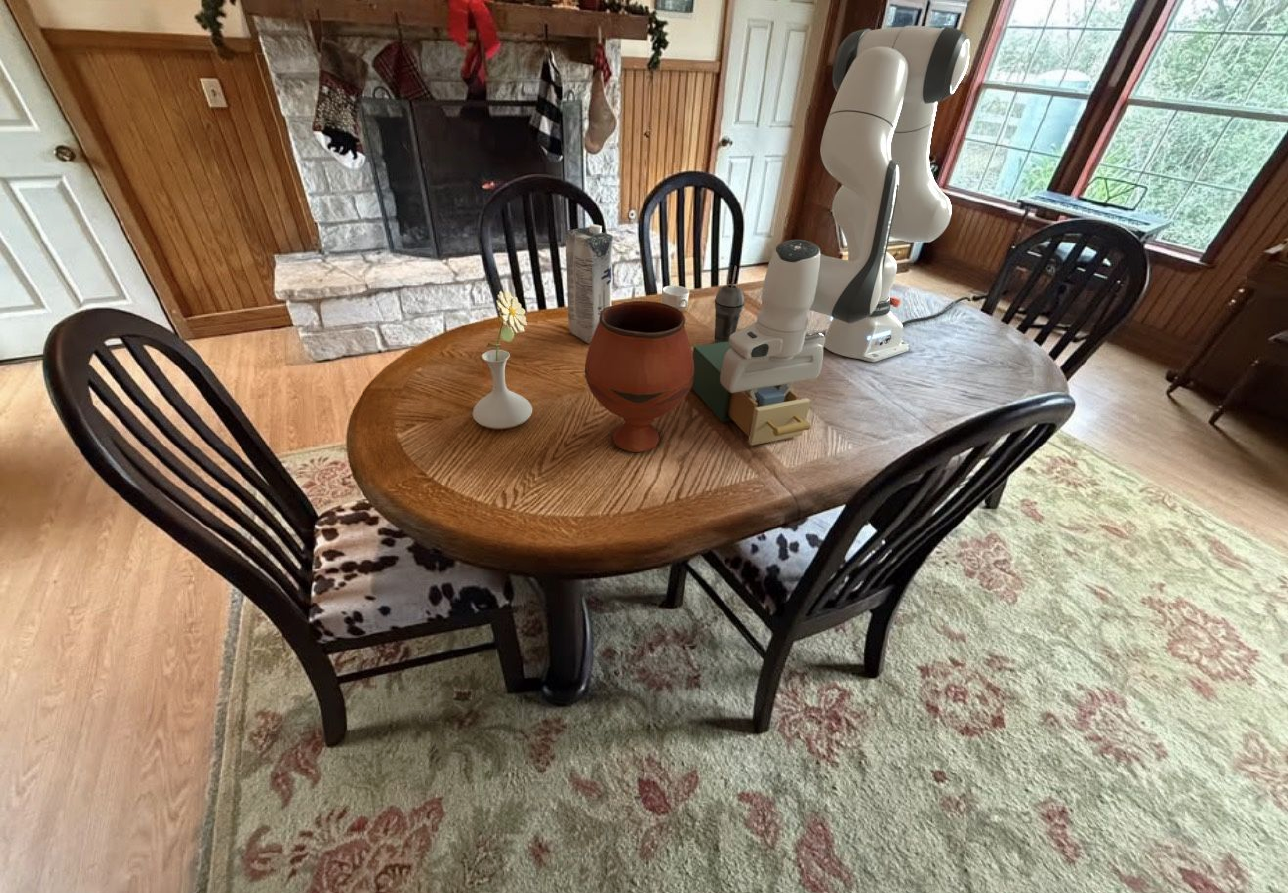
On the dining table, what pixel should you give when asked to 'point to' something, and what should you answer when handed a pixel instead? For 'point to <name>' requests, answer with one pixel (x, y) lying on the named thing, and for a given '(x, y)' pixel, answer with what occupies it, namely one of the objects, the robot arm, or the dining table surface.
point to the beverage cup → (727, 310)
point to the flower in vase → (503, 373)
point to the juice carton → (588, 278)
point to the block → (769, 396)
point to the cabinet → (711, 377)
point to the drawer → (769, 417)
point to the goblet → (639, 367)
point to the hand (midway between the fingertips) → (765, 403)
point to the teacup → (675, 296)
